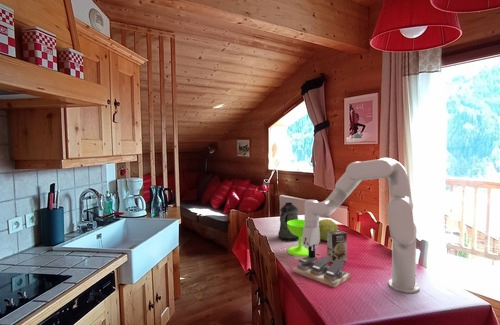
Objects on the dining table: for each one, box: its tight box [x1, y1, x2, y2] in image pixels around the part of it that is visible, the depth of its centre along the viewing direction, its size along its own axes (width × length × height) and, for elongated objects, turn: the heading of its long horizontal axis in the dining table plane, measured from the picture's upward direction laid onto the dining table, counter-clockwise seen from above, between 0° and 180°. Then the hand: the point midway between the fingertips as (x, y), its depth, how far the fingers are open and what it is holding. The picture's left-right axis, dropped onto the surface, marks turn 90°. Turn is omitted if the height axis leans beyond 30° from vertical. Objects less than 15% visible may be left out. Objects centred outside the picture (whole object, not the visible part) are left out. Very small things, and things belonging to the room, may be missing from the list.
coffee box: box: [326, 230, 348, 264], centre depth 166 cm, size 9×6×16 cm
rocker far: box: [298, 256, 318, 264], centre depth 154 cm, size 10×4×1 cm, turn 132°
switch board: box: [293, 260, 351, 288], centre depth 148 cm, size 14×24×5 cm, turn 42°
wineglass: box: [286, 219, 309, 257], centre depth 180 cm, size 16×16×18 cm
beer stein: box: [277, 202, 299, 242], centre depth 206 cm, size 16×19×25 cm
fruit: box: [319, 218, 339, 241], centre depth 202 cm, size 16×14×15 cm
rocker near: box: [325, 260, 345, 278], centre depth 142 cm, size 10×4×1 cm, turn 132°
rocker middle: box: [311, 256, 331, 272], centre depth 148 cm, size 10×4×1 cm, turn 132°
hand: (311, 257), depth 157 cm, fingers closed
